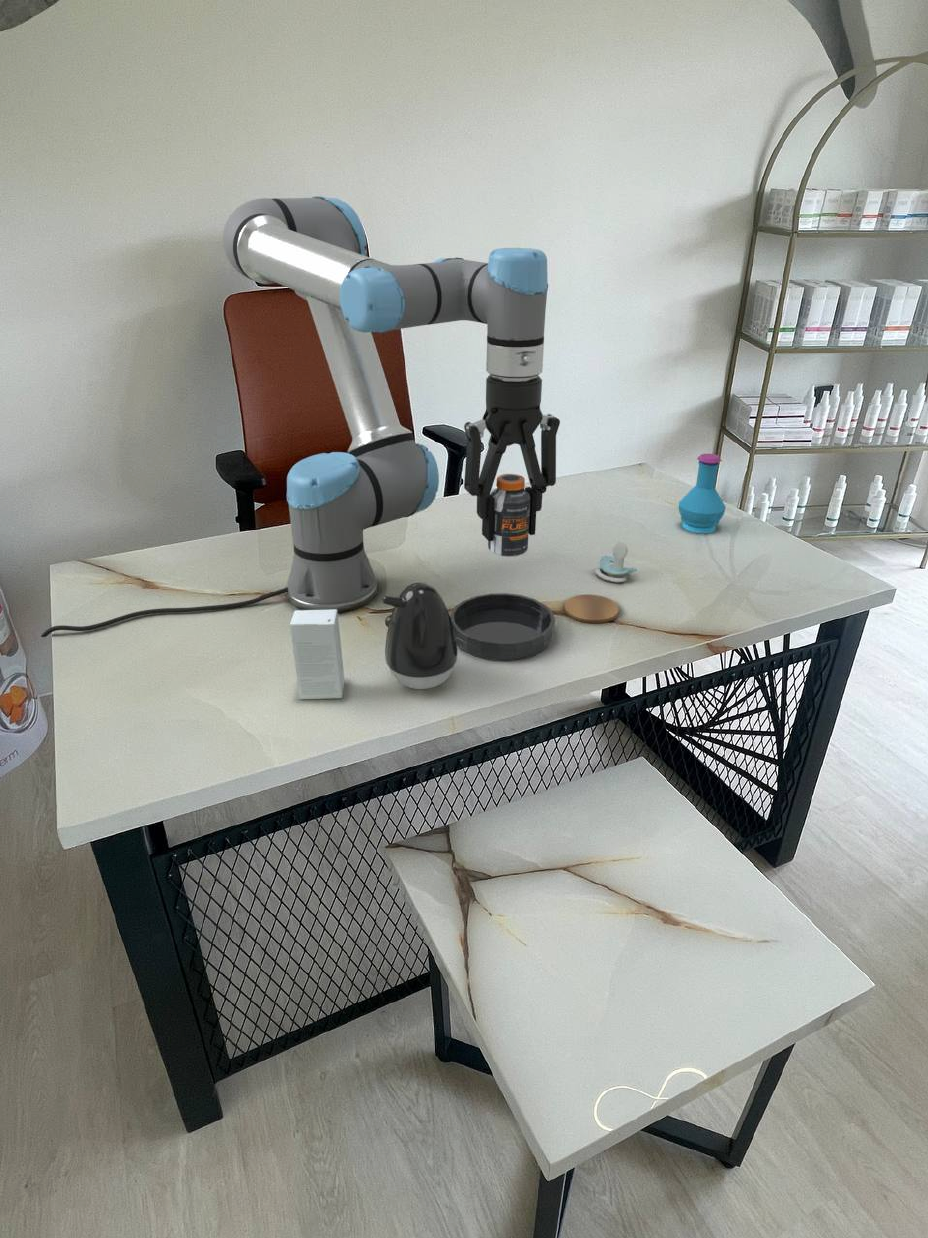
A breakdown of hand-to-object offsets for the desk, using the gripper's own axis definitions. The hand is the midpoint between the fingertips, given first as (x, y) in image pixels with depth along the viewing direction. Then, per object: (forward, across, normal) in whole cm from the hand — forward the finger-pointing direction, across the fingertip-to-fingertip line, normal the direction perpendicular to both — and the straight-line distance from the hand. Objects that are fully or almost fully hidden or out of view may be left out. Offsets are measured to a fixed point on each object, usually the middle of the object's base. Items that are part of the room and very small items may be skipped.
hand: (508, 534), depth 119 cm
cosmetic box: (+17, -31, -6) cm, 36 cm away
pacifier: (+17, +26, +12) cm, 34 cm away
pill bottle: (+3, 0, 0) cm, 3 cm away
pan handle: (+16, -13, +4) cm, 21 cm away
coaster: (+17, +16, +2) cm, 24 cm away
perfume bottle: (+17, +54, +26) cm, 63 cm away
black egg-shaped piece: (+17, -17, -8) cm, 25 cm away
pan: (+17, -1, 0) cm, 17 cm away
